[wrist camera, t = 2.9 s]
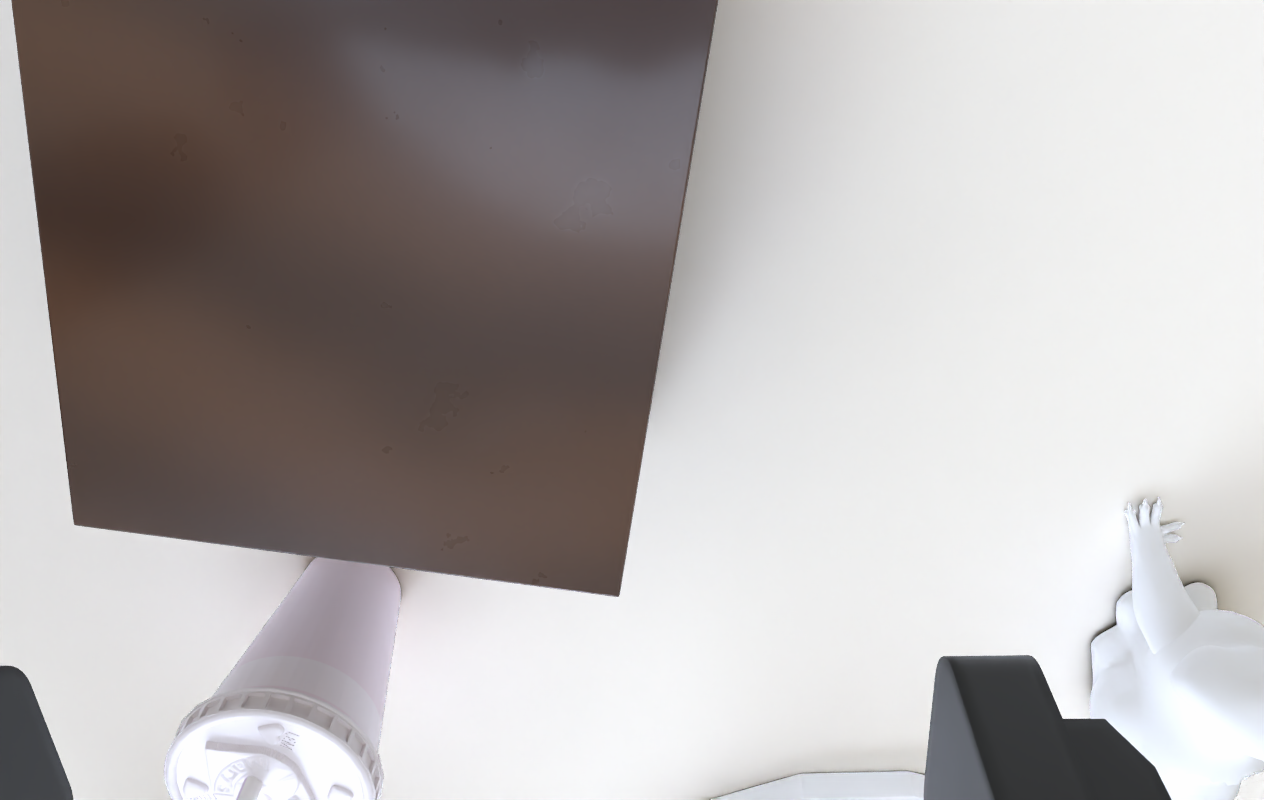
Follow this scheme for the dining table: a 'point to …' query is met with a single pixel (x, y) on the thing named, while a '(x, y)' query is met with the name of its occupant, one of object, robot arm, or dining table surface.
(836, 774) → the dish
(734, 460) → the dining table surface
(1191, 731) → the rabbit figurine
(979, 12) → the dining table surface
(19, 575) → the dining table surface
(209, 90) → the cabinet
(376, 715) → the smoothie
